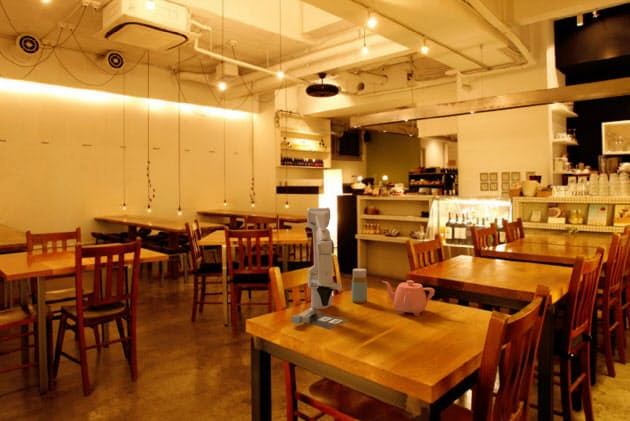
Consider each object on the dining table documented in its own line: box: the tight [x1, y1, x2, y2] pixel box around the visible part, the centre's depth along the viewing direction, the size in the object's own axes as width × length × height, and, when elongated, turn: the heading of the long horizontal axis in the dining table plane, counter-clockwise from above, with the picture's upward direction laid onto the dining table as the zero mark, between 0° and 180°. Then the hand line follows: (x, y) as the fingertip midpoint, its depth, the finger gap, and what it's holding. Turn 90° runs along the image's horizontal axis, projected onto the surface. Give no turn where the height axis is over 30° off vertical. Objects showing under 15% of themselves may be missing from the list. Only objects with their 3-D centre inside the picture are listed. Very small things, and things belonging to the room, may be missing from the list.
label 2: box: [328, 319, 343, 325], centre depth 168 cm, size 5×4×1 cm
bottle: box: [351, 267, 368, 304], centre depth 200 cm, size 7×7×15 cm
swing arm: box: [291, 306, 318, 325], centre depth 169 cm, size 16×3×3 cm, turn 153°
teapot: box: [381, 279, 436, 317], centre depth 184 cm, size 16×17×14 cm
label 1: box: [318, 317, 332, 322], centre depth 171 cm, size 5×4×1 cm
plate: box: [302, 312, 350, 330], centre depth 170 cm, size 14×16×1 cm
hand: (325, 305), depth 171 cm, fingers closed
